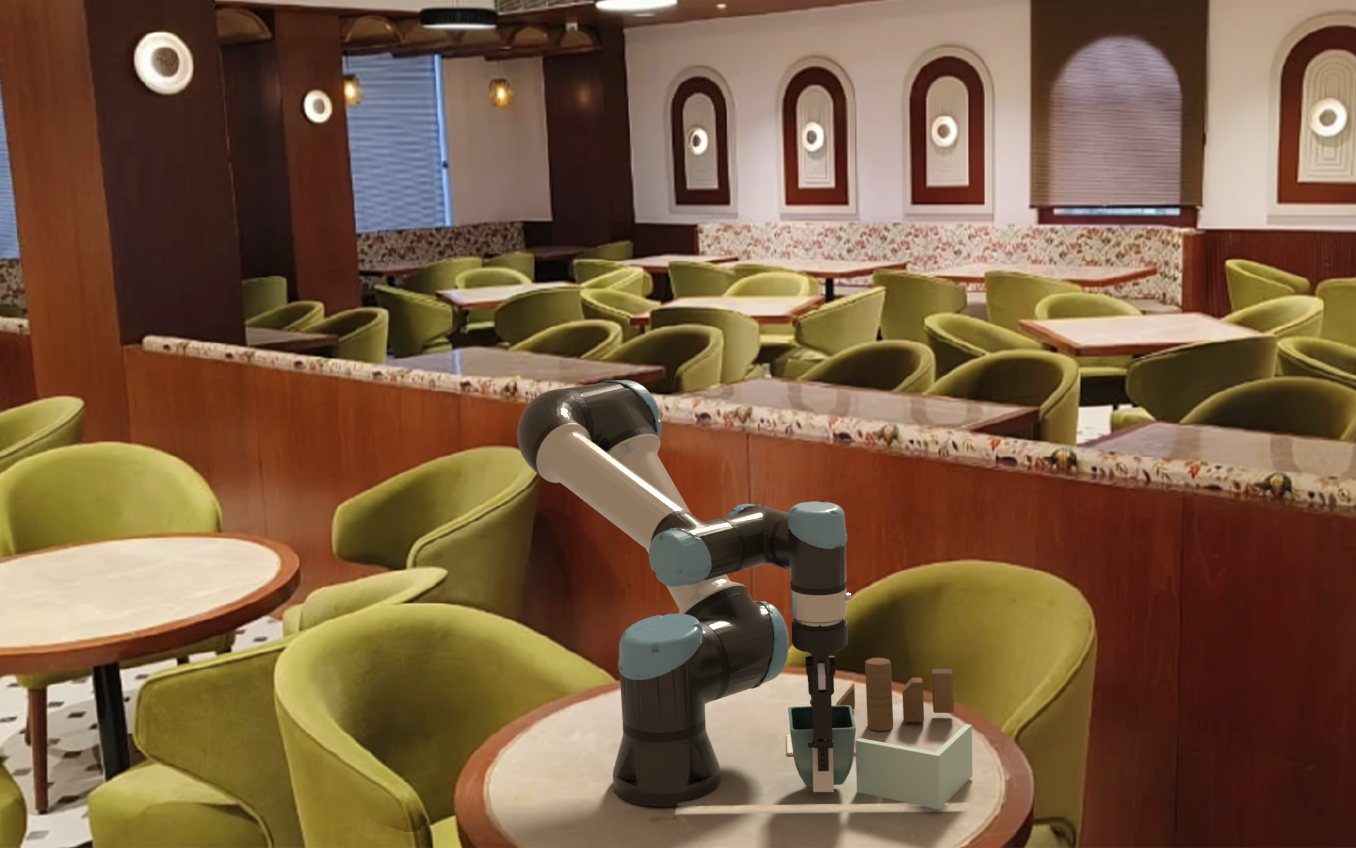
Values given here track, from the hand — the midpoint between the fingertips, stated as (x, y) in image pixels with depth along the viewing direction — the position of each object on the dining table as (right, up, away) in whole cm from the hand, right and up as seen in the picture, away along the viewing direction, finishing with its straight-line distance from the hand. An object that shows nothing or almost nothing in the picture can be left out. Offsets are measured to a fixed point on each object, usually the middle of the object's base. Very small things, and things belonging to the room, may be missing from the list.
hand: (822, 776), depth 200 cm
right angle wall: (+13, -2, +1) cm, 13 cm away
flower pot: (0, -1, 0) cm, 1 cm away
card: (+1, +1, +16) cm, 16 cm away
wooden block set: (+13, +2, +23) cm, 27 cm away
